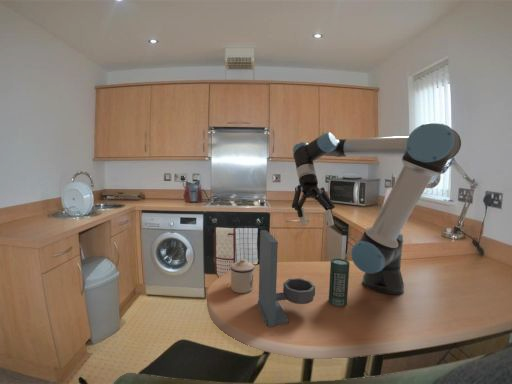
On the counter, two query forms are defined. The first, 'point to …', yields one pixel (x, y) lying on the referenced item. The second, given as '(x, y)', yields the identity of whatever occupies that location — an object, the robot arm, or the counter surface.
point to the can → (339, 282)
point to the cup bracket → (268, 298)
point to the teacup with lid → (242, 276)
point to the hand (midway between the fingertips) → (318, 225)
